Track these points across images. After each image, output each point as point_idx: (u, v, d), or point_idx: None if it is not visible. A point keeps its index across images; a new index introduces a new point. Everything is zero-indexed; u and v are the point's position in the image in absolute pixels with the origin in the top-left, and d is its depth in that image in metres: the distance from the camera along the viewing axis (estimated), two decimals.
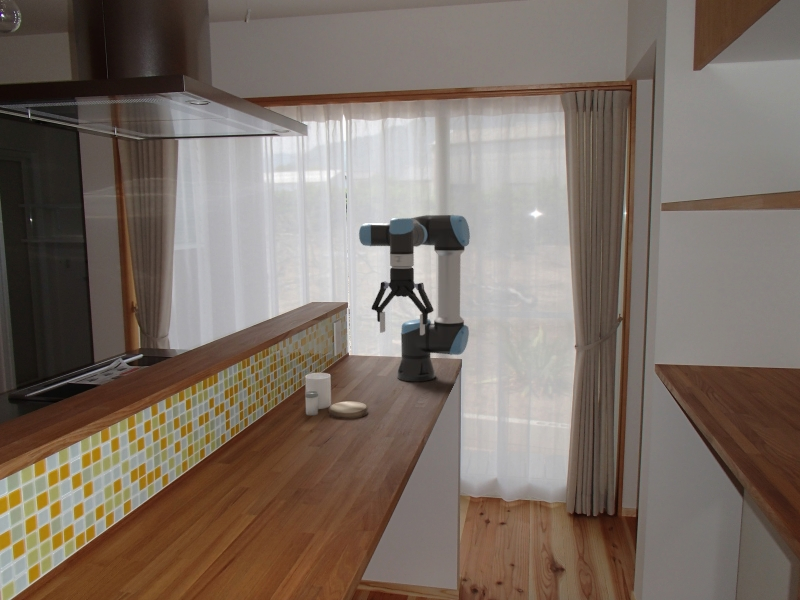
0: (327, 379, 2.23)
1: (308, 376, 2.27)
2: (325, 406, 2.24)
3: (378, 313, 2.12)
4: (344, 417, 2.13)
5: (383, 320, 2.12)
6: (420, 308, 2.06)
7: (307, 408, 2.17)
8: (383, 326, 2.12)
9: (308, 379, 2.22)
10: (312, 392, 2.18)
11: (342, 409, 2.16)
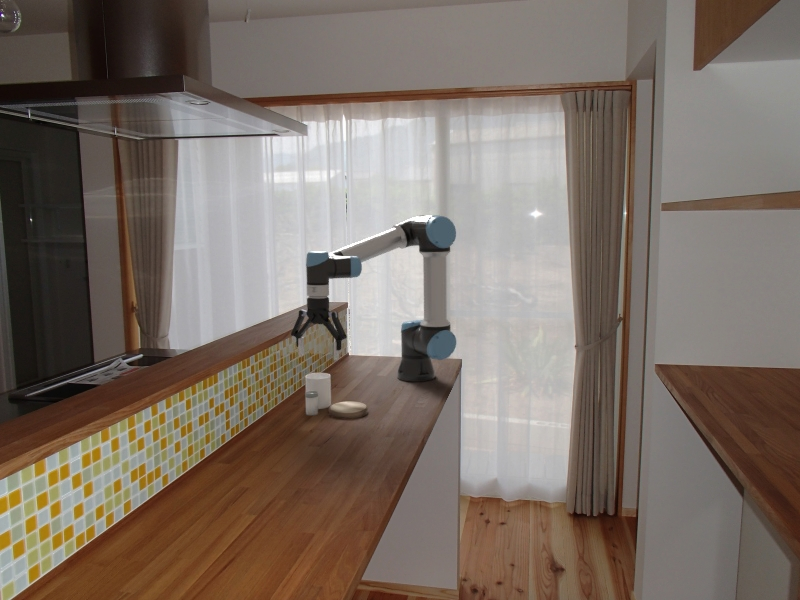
0: (327, 379, 2.23)
1: (308, 376, 2.27)
2: (325, 406, 2.24)
3: (297, 339, 2.27)
4: (344, 417, 2.13)
5: (302, 345, 2.28)
6: (334, 335, 2.21)
7: (307, 408, 2.17)
8: (302, 351, 2.28)
9: (308, 379, 2.22)
10: (312, 392, 2.18)
11: (342, 409, 2.16)
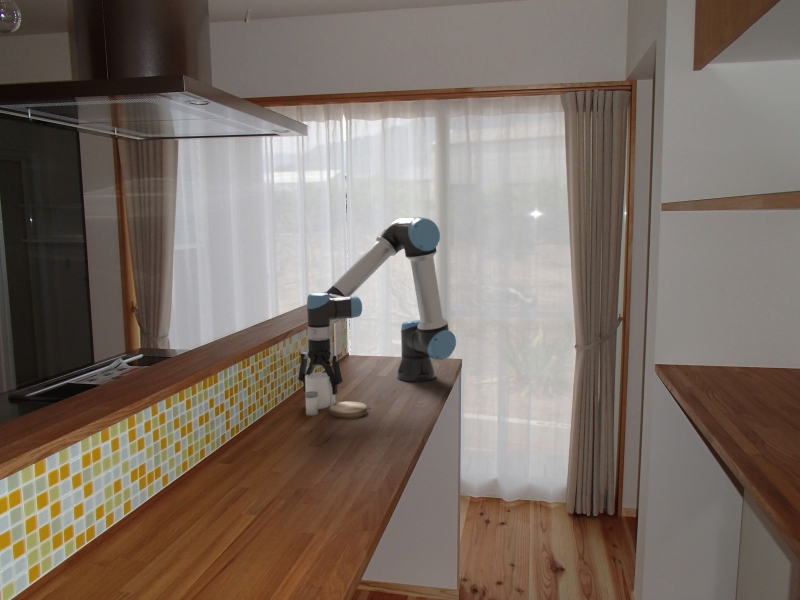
0: (327, 379, 2.23)
1: (308, 376, 2.27)
2: (325, 406, 2.24)
3: (304, 383, 2.29)
4: (344, 417, 2.13)
5: None
6: (330, 379, 2.24)
7: (307, 408, 2.17)
8: None
9: (308, 379, 2.22)
10: (312, 392, 2.18)
11: (342, 409, 2.16)
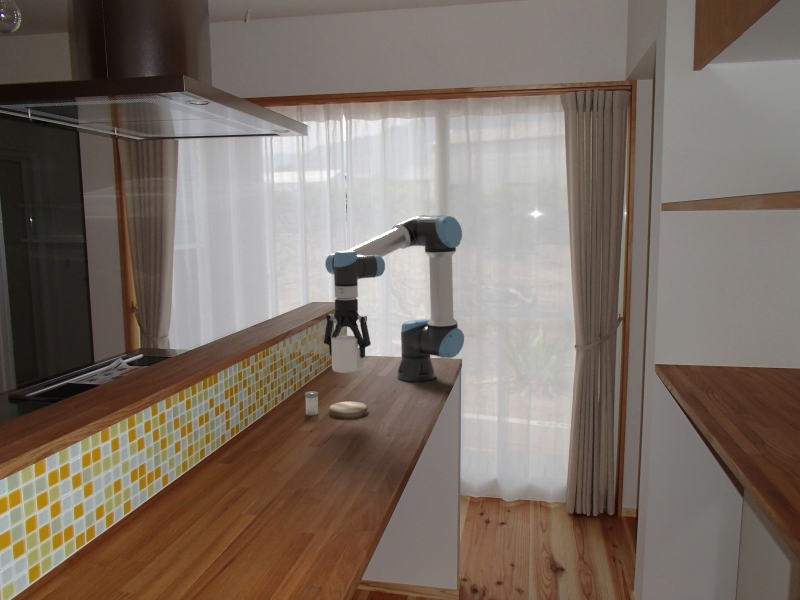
0: (355, 341, 2.12)
1: (334, 339, 2.16)
2: (352, 370, 2.12)
3: (330, 347, 2.17)
4: (344, 417, 2.13)
5: None
6: (358, 341, 2.13)
7: (307, 408, 2.17)
8: None
9: (335, 341, 2.11)
10: (312, 392, 2.18)
11: (342, 409, 2.16)
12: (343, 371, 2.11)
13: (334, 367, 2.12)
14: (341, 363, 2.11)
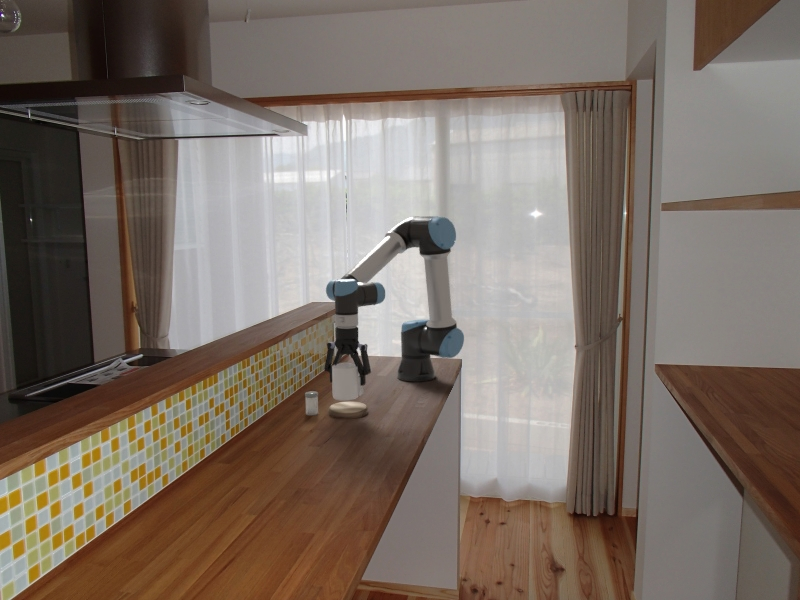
0: (355, 369, 2.13)
1: (335, 366, 2.17)
2: (353, 397, 2.13)
3: (331, 374, 2.19)
4: (344, 417, 2.13)
5: None
6: (359, 369, 2.14)
7: (307, 408, 2.17)
8: None
9: (335, 369, 2.12)
10: (312, 392, 2.18)
11: (342, 409, 2.16)
12: (343, 399, 2.13)
13: (335, 395, 2.14)
14: (341, 391, 2.12)
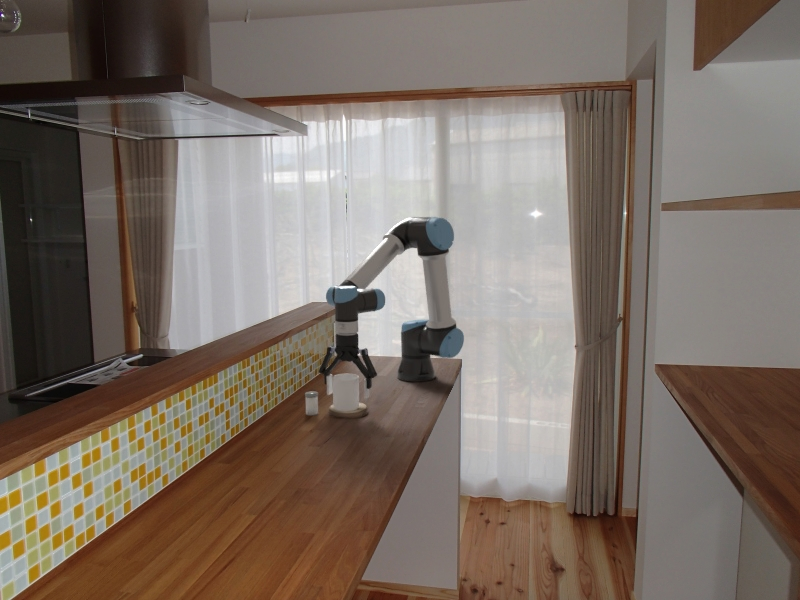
0: (355, 380, 2.13)
1: (335, 377, 2.18)
2: (353, 408, 2.14)
3: (325, 376, 2.20)
4: (344, 417, 2.13)
5: (330, 383, 2.20)
6: (364, 373, 2.14)
7: (307, 408, 2.17)
8: (330, 388, 2.20)
9: (336, 380, 2.13)
10: (312, 392, 2.18)
11: None
12: (344, 410, 2.13)
13: (335, 406, 2.14)
14: (342, 402, 2.13)
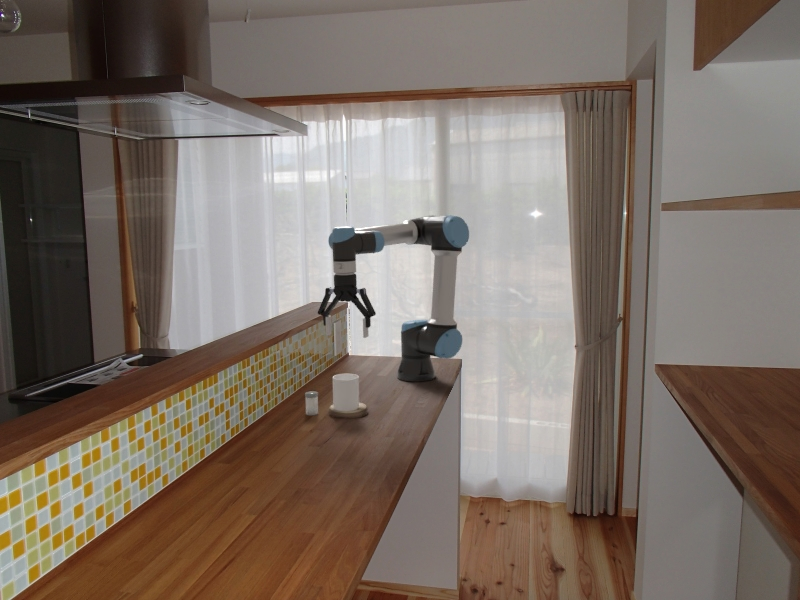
0: (355, 380, 2.13)
1: (335, 377, 2.18)
2: (353, 408, 2.14)
3: (324, 317, 2.22)
4: (344, 417, 2.13)
5: (329, 324, 2.23)
6: (363, 312, 2.17)
7: (307, 408, 2.17)
8: (329, 330, 2.23)
9: (336, 380, 2.13)
10: (312, 392, 2.18)
11: None
12: (344, 410, 2.13)
13: (335, 406, 2.14)
14: (342, 402, 2.13)
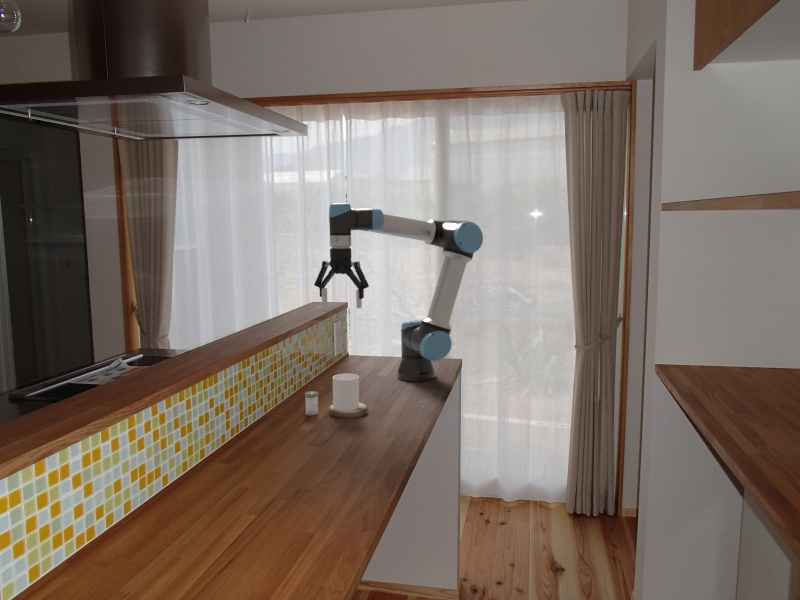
0: (355, 380, 2.13)
1: (335, 377, 2.18)
2: (353, 408, 2.14)
3: (320, 289, 2.35)
4: (344, 417, 2.13)
5: (325, 295, 2.35)
6: (356, 284, 2.29)
7: (307, 408, 2.17)
8: (325, 301, 2.36)
9: (336, 380, 2.13)
10: (312, 392, 2.18)
11: None
12: (344, 410, 2.13)
13: (335, 406, 2.14)
14: (342, 402, 2.13)
